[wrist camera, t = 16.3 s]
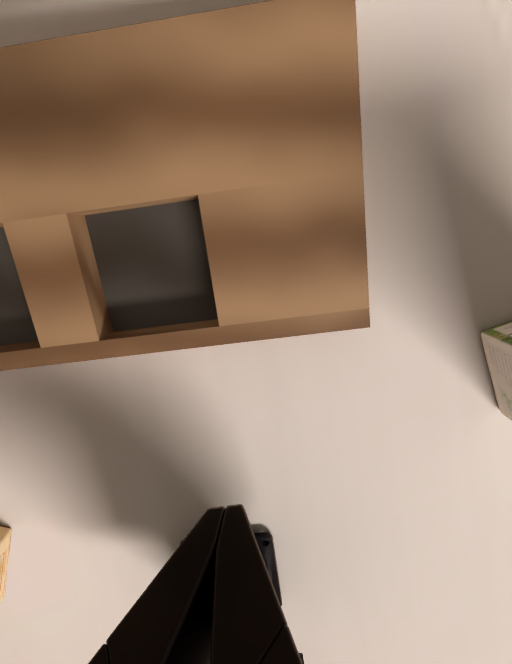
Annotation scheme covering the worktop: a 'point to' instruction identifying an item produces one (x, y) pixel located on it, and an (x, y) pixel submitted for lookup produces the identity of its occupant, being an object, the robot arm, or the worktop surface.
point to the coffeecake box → (4, 557)
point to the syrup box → (500, 363)
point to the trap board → (182, 184)
